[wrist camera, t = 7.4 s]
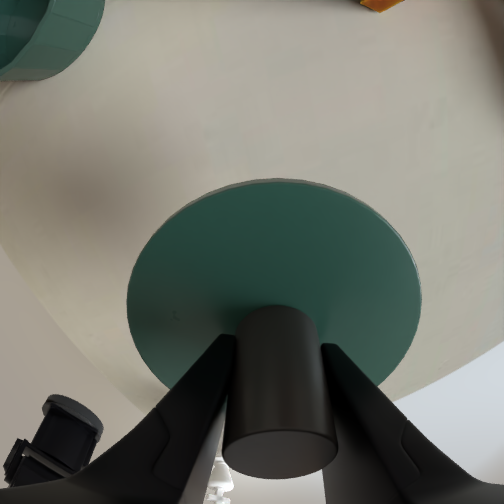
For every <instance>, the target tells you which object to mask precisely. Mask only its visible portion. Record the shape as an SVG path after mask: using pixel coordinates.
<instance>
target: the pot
mask: <svg viewBox="0 0 504 504" xmlns="http://www.w3.org/2000/svg"><path fill="white" fill-rule="evenodd" d="M104 3H105V0H0V81H19V80H42V79H46V78H49V77H52V76H54V75H56V74H58V73H59V72H61V71H63V70H64V69H65V68H67V67H68V66H69V65H70V64H71V63H73V62H74V61H75V60H76V59H77V58H78V57H79V56H80V54H81V53H82V52H83V51H84V50H85V48H86V47H87V45H88V44H89V42H90V41H91V39H92V38H93V36H94V34H95V32H96V30H97V28H98V26H99V23H100V20H101V18H102V14H103V10H104Z"/></svg>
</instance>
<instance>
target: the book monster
mask: <svg viewBox="0 0 504 504" xmlns="http://www.w3.org/2000/svg"><path fill="white" fill-rule="evenodd" d="M402 1H404V0H361V2H360V4H362V5H365V6H367V7H369V8H371V9H373V10H375V11H377V12H379V13H381V12H383V11H385V10H387V9H389V8H391V7H392V6H394V5H396V4H398V3H399V2H402Z"/></svg>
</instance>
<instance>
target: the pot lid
mask: <svg viewBox="0 0 504 504" xmlns="http://www.w3.org/2000/svg"><path fill="white" fill-rule="evenodd" d="M126 302H127V319H128V323H129V328H130V333H131V335H132V338H133V341H134V343H135V346H136V348H137V350H138V352H139V354H140V355H141V357H142V359H143V361H144V362H145V363H146V365H147V366H148V367H149V369H150V370H151V371H152V373H153V374H154V375H155V376H156V377H157V378H158V379H159V380H160V381H161V382H162V383H163V384H164V385H165V386H166V387H168V388H169V389H170V390H171V388H172V387H173V386H174V385H175V384H176V383H177V382H178V381H179V380H180V378H181V377H182V376H183V375H184V374H185V373H186V372H187V371H188V370H189V368H190V367H191V366H192V365H193V364H194V363H195V362H196V361H197V360H198V358H199V357H200V356H201V355H202V354H203V353H204V352H205V351H206V349H207V348H208V347H209V346H210V345H211V344H212V343H213V341H214V340H215V339H216V338H217V337H218V336H219V335H220V334H222V333H224V334H232V335H235V346H234V355H233V363H232V372H231V379H230V384H229V389H228V397H227V406H226V415H225V423H224V432H223V441H222V450H221V455H222V458H223V460H224V462H225V463H226V464H227V465H228V466H229V467H230V468H232V469H233V470H235V471H237V472H239V473H242V474H244V475H247V476H251V477H256V478H263V479H288V478H296V477H301V476H305V475H308V474H311V473H314V472H316V471H319V470H321V469H323V468H324V467H326V466H327V465H329V464H330V463H331V462H332V461H333V460H334V459H335V457H336V456H337V453H338V449H339V447H338V440H337V434H336V428H335V422H334V416H333V410H332V405H331V399H330V394H329V388H328V383H327V378H326V372H325V367H324V362H323V357H322V352H321V347H320V346H321V344H322V343H335V344H337V345H338V346H339V347H340V348H341V349H342V350H343V351H344V352H345V353H346V354H347V355H348V356H349V358H350V359H351V360H352V361H353V362H354V363H355V364H356V365H357V366H358V367H359V368H360V369H361V370H362V371H363V372H364V373H365V374H366V375H367V376H368V378H369V379H370V380H371V381H372V382H373V383H374V384H375V385H376V386H378V385H380V384H381V383H382V382H383V381H384V380H385V379H386V378H387V377H388V376H389V375H390V374H391V373H392V372H393V371H394V370H395V368H396V367H397V366H398V364H399V363H400V362H401V360H402V359H403V358H404V356H405V354H406V352H407V351H408V349H409V347H410V345H411V343H412V341H413V338H414V336H415V333H416V331H417V327H418V323H419V319H420V314H421V303H422V295H421V282H420V278H419V274H418V270H417V266H416V264H415V261H414V259H413V257H412V254H411V252H410V250H409V249H408V247H407V245H406V244H405V242H404V241H403V239H402V238H401V236H400V235H399V234H398V233H397V231H396V230H395V229H394V228H393V227H392V226H391V225H390V224H389V223H388V222H387V221H386V220H385V219H384V218H383V217H382V216H381V215H380V214H379V213H378V212H376V211H375V210H374V209H372V208H371V207H370V206H369V205H367V204H366V203H364V202H363V201H361V200H359V199H357V198H355V197H354V196H352V195H350V194H348V193H346V192H343V191H341V190H338V189H335V188H333V187H330V186H327V185H324V184H320V183H315V182H310V181H305V180H298V179H284V178H272V179H258V180H250V181H245V182H241V183H236V184H231V185H228V186H225V187H222V188H220V189H217V190H214V191H211V192H209V193H207V194H205V195H203V196H201V197H199V198H197V199H195V200H193V201H192V202H190V203H188V204H186V205H185V206H184V207H182V208H181V209H180V210H178V211H177V212H176V213H174V214H173V215H172V216H170V217H169V218H168V219H167V220H166V221H165V222H164V223H163V225H162V226H161V227H160V228H159V229H158V230H157V231H156V232H155V233H154V234H153V236H152V237H151V238H150V240H149V241H148V243H147V244H146V245H145V247H144V248H143V250H142V251H141V253H140V255H139V257H138V259H137V261H136V263H135V265H134V267H133V270H132V274H131V277H130V281H129V284H128V292H127V301H126Z"/></svg>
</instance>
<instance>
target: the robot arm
mask: <svg viewBox="0 0 504 504" xmlns="http://www.w3.org/2000/svg"><path fill="white" fill-rule="evenodd" d="M234 346H235V335H232V334H224V333H222V334H220V335H219V336H218V337H217V338H216V339H215V340H214V341H213V343H212V344H211V345H210V346H209V347H208V348H207V349H206V351H205V352H204V353H203V354H202V355H201V356H200V357H199V358H198V360H197V361H196V362H195V363H194V364H193V365H192V366H191V367H190V368H189V370H188V371H187V372H186V373H185V374H184V375H183V376H182V377H181V378H180V380H179V381H178V382H177V383H176V384H175V385H174V386H173V387H172V388H171V390H170V391H169V392H168V393H167V394H166V395H165V396H164V397H163V398H162V399H161V400H160V402H159V403H158V404H157V405H156V408H153V409H152V410H151V411H150V412H149V413H148V414H147V416H146V417H145V418H144V419H143V420H142V421H141V422H140V423H139V424H138V425H137V426H136V427H135V428H134V429H132V430H131V431H130V432H129V433H128V434H127V435H125V436H124V437H123V438H122V439H121V440H120V441H118V442H117V443H116V444H115V445H113V446H112V447H111V448H109V449H108V450H107V451H106V452H104V453H103V454H102V455H100V456H99V457H98V458H97V459H95V460H94V461H93V462H91V463H90V464H89V462H90V459H91V456H92V454H93V451H94V448H95V446H96V443H97V440H96V439H94V438H95V437H96V436H97V434H98V430H97V429H96V428H94V427H92V426H90V425H89V424H87V423H85V422H83V421H82V420H80V419H78V418H77V417H75V416H73V415H72V414H70V413H69V412H67V411H65V410H64V409H62V408H61V407H59V406H58V405H56V404H55V403H53V402H51V403H50V404H49V407H48V410H47V413H46V415H45V417H44V419H43V421H42V423H41V425H40V427H39V429H38V431H37V433H36V434H35V436H34V438H33V440H32V442H31V443H29V442H28V441H27V440H26V439H24V440H21V439H17V440H16V442H15V444H14V446H13V448H12V450H11V452H10V454H9V455H8V457H7V459H6V461H5V463H4V465H3V467H4V470H5V476H6V477H5V479H4V481H6V482H7V483H8V484H9V486H8V488H3V489H0V504H203V501H204V497H205V493H206V490H207V486H208V482H209V478H210V475H211V471H212V467H213V463H214V459H215V456H216V452H217V448H218V444H219V440H220V437H221V433H222V429H223V425H224V421H225V415H226V406H227V397H228V389H229V384H230V379H231V372H232V363H233V355H234ZM320 347H321V352H322V357H323V362H324V367H325V372H326V378H327V383H328V388H329V394H330V399H331V405H332V410H333V416H334V422H335V428H336V434H337V440H338V447H339V449H338V453H337V456H336V457H335V459H334V460H333V461H332V462H331V463H330V464H329V465H327V466H326V467H324V468H323V469H322V472H323V481H324V489H325V497H326V504H504V485H500V484H491V483H486V482H482V481H480V480H478V479H476V478H474V477H472V476H471V475H469V474H468V473H467V472H466V471H465V470H463V469H462V468H461V467H460V466H459V465H457V464H456V463H455V462H454V461H453V460H451V459H450V458H449V457H448V456H446V455H445V454H444V453H443V452H442V451H441V450H439V449H438V448H437V447H436V446H435V445H434V444H433V443H432V442H430V441H429V440H428V439H427V438H426V437H425V436H424V435H423V434H422V433H421V432H420V431H419V430H418V429H417V428H416V427H415V426H414V425H413V424H412V423H411V422H410V421H409V420H407V418H406V417H405V416H404V414H403V413H402V412H401V411H400V410H399V409H398V408H397V407H396V406H395V405H394V404H393V403H392V402H391V401H390V400H389V399H388V398H387V396H386V395H385V394H384V393H383V392H382V391H381V390H380V389H379V388H378V387H377V386H376V385H375V384H374V383H373V382H372V381H371V380H370V379H369V378H368V376H367V375H366V374H365V373H364V372H363V371H362V370H361V369H360V368H359V367H358V366H357V365H356V364H355V363H354V362H353V361H352V360H351V359H350V358H349V356H348V355H347V354H346V353H345V352H344V351H343V350H342V349H341V348H340V347H339V346H338V345H337V344H335V343H322V344H321V346H320ZM22 453H23V454H24V455H25V456H22ZM88 464H89V465H88Z"/></svg>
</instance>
